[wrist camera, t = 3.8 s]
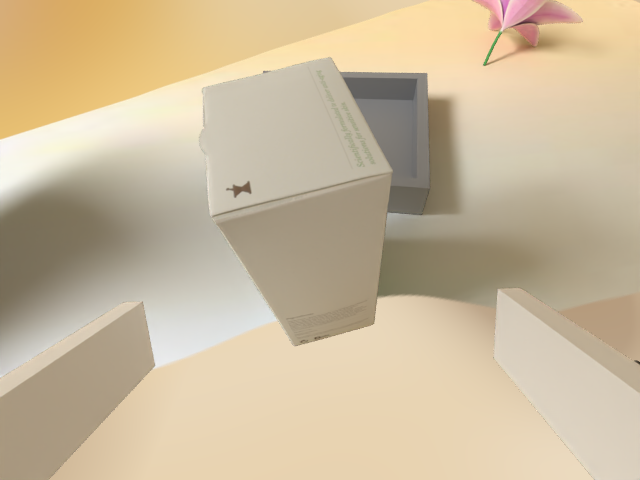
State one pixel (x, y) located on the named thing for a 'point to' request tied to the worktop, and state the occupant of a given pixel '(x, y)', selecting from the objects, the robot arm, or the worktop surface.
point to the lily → (526, 17)
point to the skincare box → (299, 194)
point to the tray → (397, 131)
